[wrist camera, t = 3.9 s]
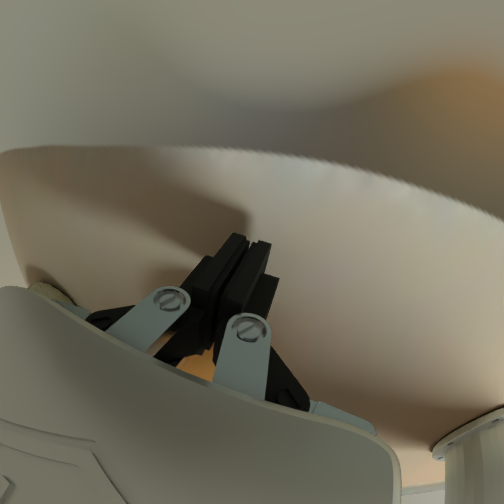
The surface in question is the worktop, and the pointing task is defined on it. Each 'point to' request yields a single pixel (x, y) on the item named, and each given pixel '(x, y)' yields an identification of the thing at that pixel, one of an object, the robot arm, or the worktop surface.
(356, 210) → the worktop surface
